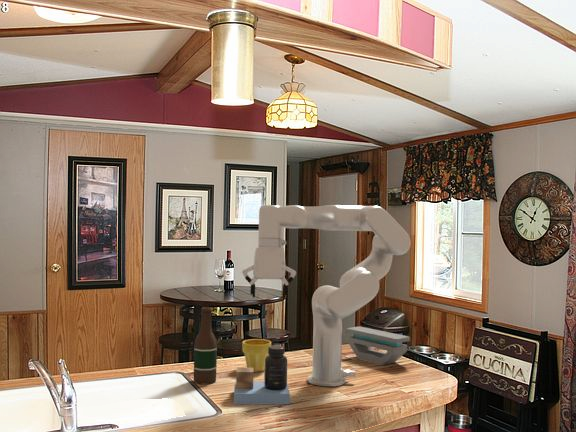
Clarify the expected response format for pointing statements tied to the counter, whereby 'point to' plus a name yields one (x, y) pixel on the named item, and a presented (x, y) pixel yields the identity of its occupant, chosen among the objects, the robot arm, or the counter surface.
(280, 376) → the supplement bottle
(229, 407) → the counter surface
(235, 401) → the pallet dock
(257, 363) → the plant pot
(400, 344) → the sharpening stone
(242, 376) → the block
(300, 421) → the counter surface
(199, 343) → the beer bottle
